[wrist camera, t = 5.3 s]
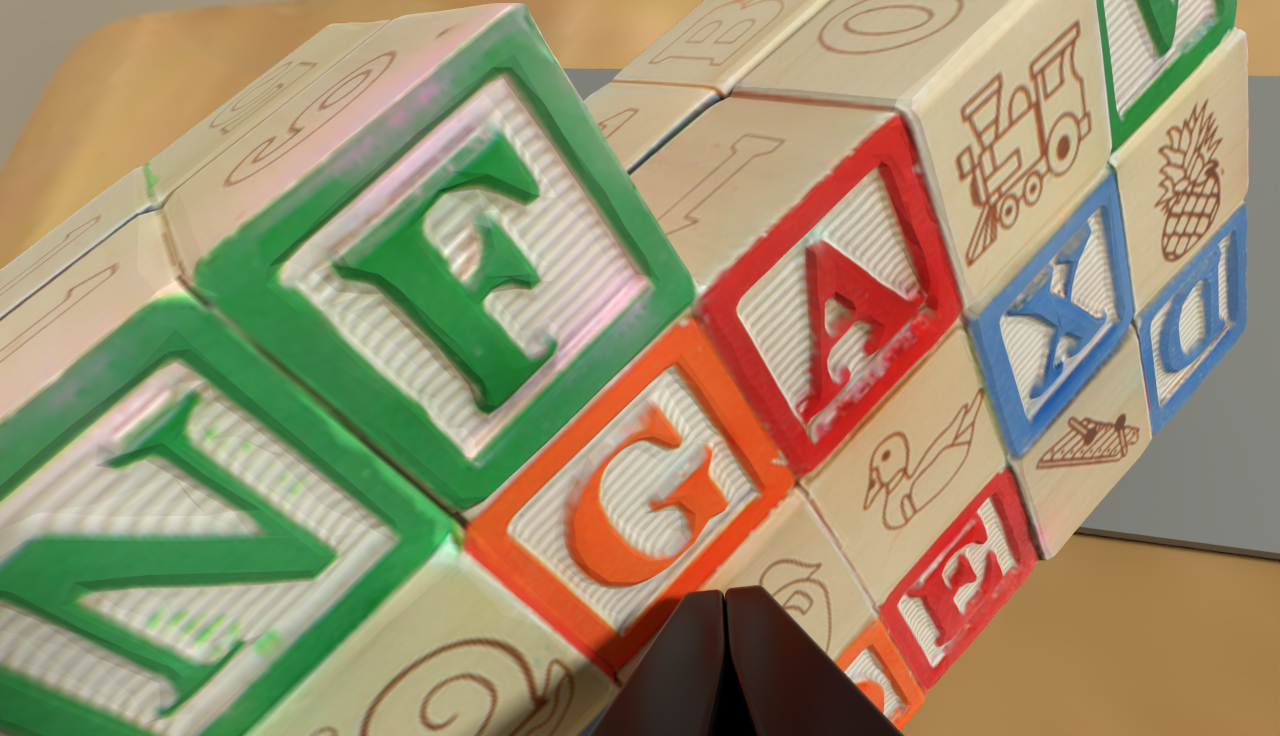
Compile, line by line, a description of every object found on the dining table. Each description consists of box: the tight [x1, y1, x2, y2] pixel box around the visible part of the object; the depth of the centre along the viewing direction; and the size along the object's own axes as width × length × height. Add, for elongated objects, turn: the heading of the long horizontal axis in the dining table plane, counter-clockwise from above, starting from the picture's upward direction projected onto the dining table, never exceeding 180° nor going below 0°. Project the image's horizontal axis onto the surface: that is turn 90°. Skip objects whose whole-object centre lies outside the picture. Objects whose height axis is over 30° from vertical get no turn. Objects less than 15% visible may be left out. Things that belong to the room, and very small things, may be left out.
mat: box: [563, 69, 1280, 560], centre depth 20 cm, size 13×24×1 cm, turn 79°
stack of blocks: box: [0, 0, 1249, 736], centre depth 11 cm, size 21×6×12 cm, turn 133°
